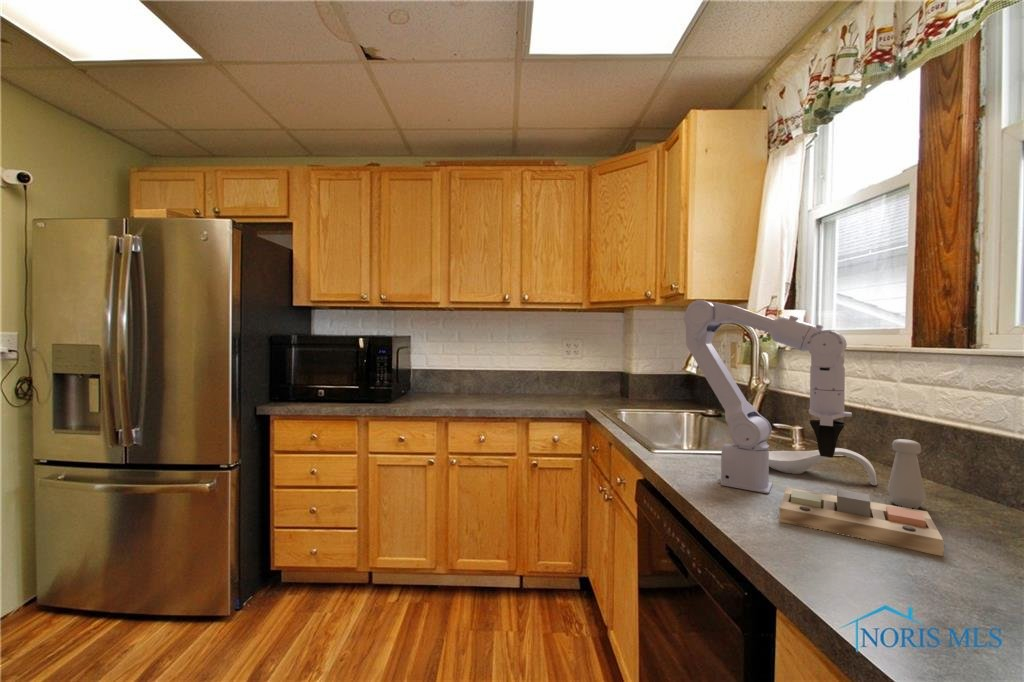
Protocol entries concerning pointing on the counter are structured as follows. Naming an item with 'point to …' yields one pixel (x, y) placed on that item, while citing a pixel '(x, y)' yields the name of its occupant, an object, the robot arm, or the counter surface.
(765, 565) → the counter surface
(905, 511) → the key terracotta
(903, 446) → the salt shaker
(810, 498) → the key sage
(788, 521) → the tan wooden slotted tray
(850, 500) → the key slate
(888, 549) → the counter surface
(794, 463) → the light grey curved piece
